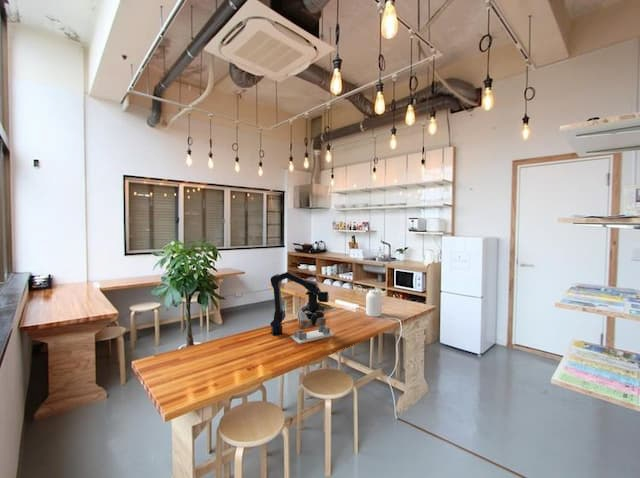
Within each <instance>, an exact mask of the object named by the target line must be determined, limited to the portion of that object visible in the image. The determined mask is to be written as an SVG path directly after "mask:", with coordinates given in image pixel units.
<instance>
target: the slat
mask: <svg viewBox="0 0 640 478" xmlns="http://www.w3.org/2000/svg"><path fill="white" fill-rule="evenodd" d="M326 323H327V317H325V316H324V317H322V318H317V320H316V323H315V326H313V324H312V320H311V319H307V320H301V321H299V322H298V325H299V326H298V328H299V330H302V331H303V330H308V329H314V328H318V327H320V326H327V324H326Z"/></svg>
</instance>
